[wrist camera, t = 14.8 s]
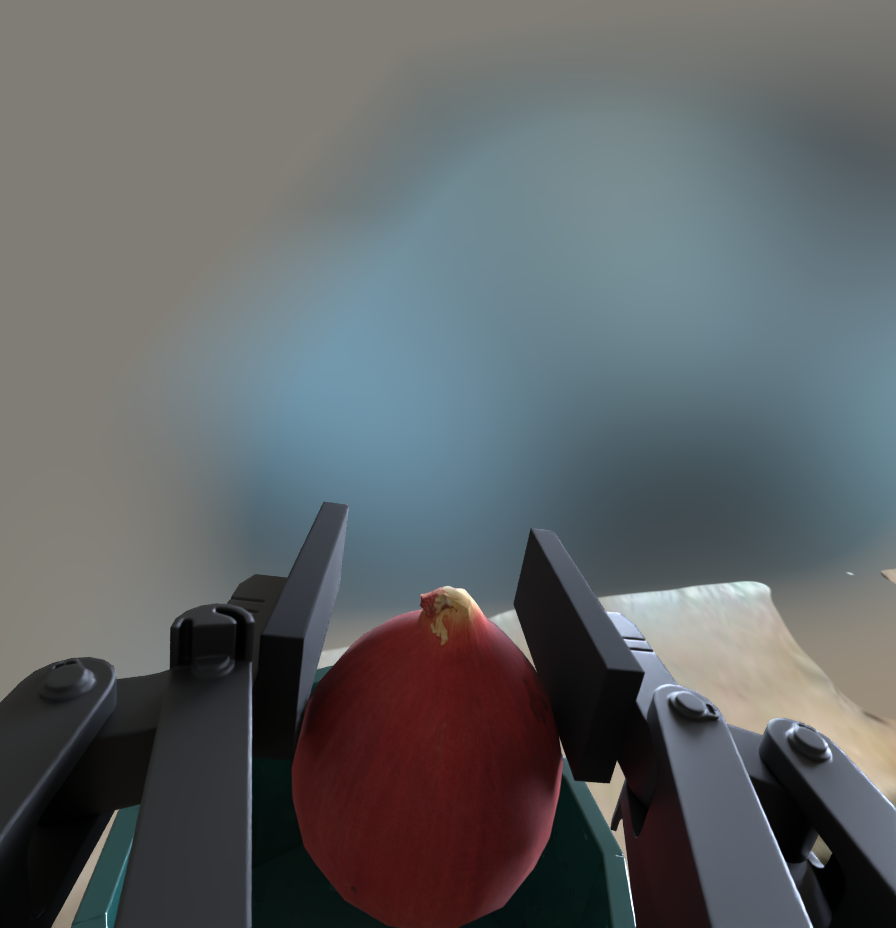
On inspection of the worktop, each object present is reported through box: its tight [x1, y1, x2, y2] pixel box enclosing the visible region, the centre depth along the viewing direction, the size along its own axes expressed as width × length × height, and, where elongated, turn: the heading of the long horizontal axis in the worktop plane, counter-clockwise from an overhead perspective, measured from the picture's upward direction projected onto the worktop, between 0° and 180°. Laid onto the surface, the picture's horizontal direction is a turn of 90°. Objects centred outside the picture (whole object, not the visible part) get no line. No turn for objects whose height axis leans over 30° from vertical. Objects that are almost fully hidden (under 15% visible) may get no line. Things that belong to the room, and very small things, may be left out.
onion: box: [292, 586, 563, 928], centre depth 11 cm, size 6×6×8 cm
